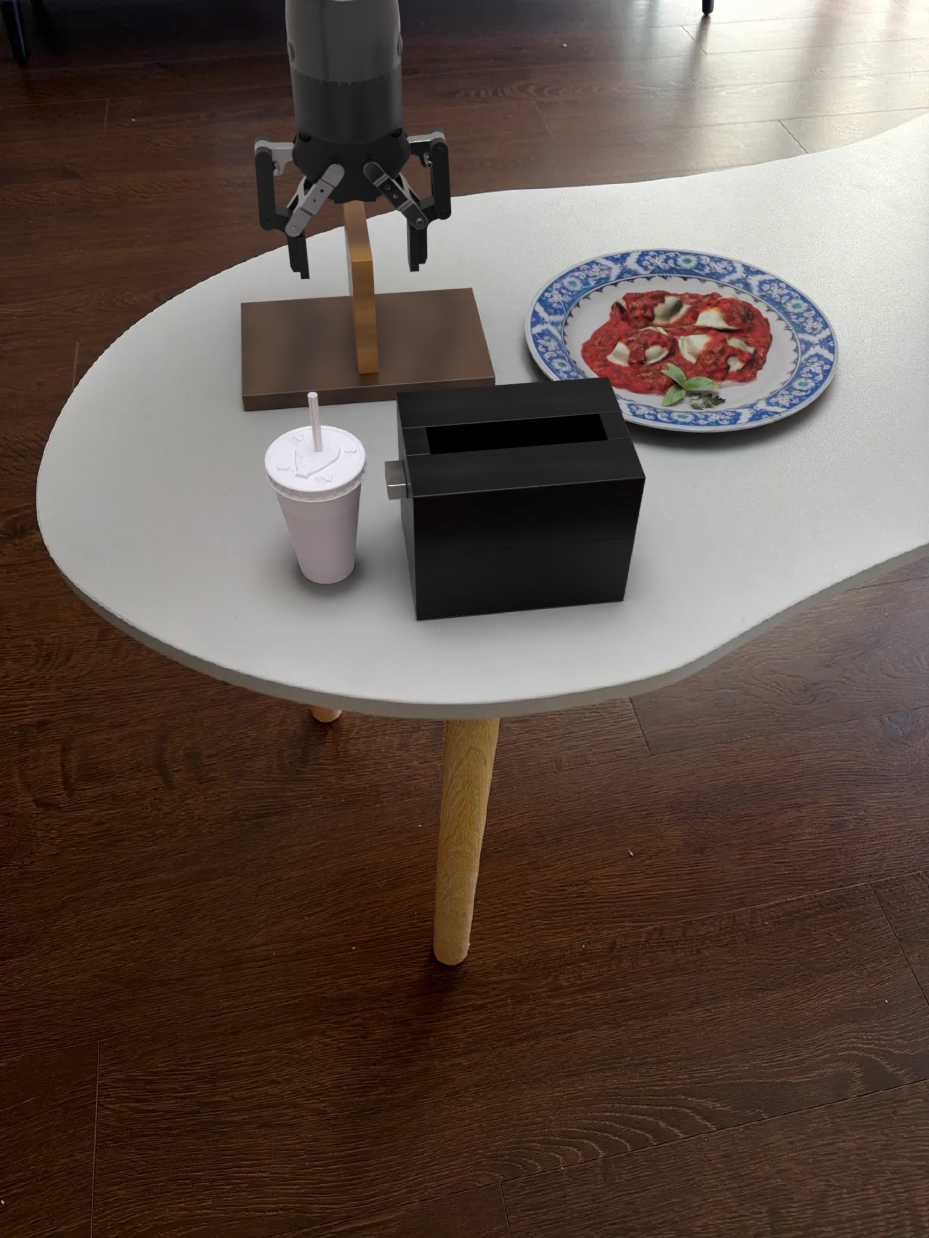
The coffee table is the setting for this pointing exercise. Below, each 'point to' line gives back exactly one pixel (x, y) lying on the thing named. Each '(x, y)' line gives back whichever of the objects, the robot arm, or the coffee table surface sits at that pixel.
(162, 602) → the coffee table surface
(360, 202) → the toast
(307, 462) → the smoothie
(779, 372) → the ceramic plate
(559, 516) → the toaster
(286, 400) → the cutting board
